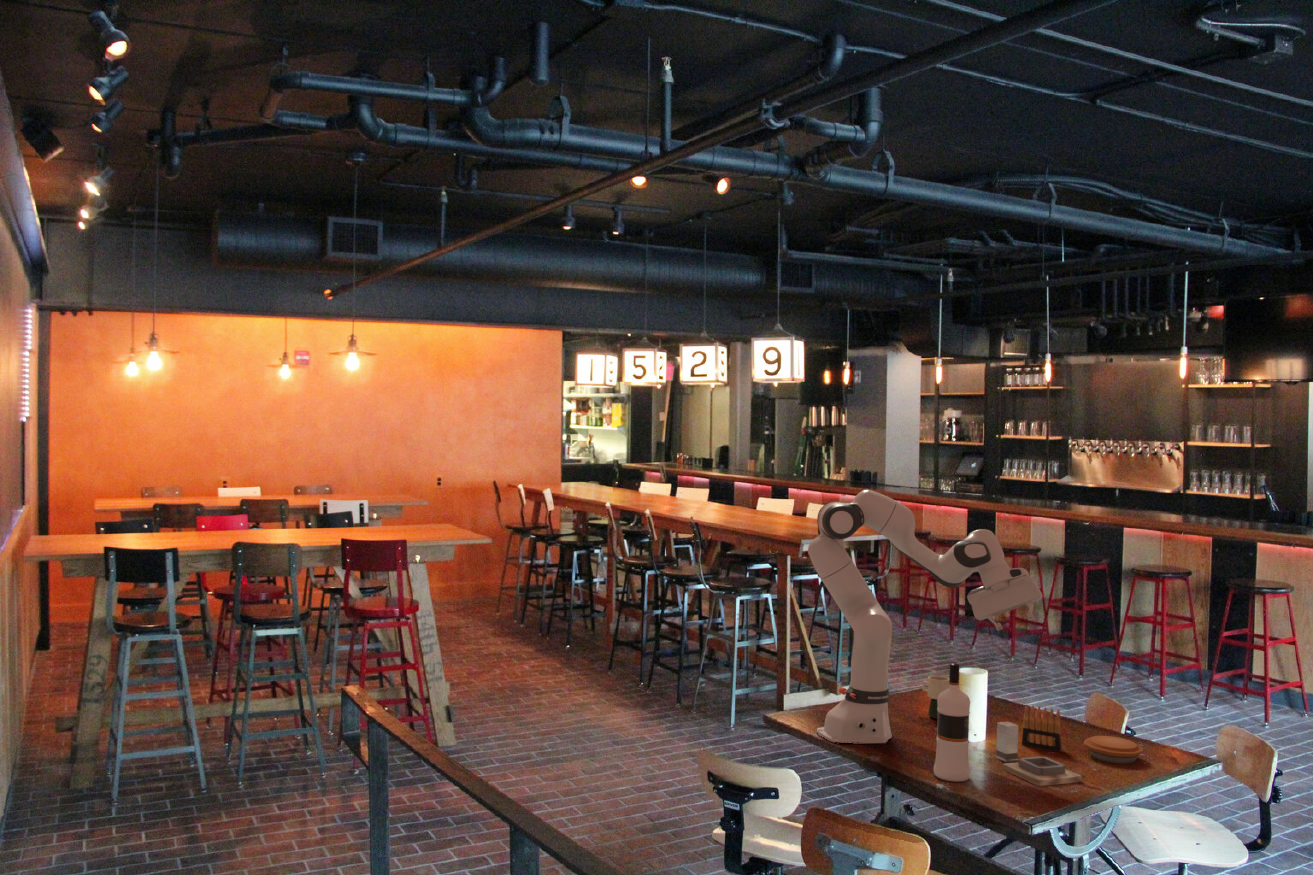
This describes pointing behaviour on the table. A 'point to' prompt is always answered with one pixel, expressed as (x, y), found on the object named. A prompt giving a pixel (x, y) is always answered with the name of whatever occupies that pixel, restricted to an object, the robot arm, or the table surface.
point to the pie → (1113, 749)
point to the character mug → (935, 692)
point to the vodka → (952, 731)
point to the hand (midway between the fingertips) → (1015, 624)
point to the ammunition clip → (1042, 730)
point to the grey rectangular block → (1007, 741)
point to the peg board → (1042, 771)
